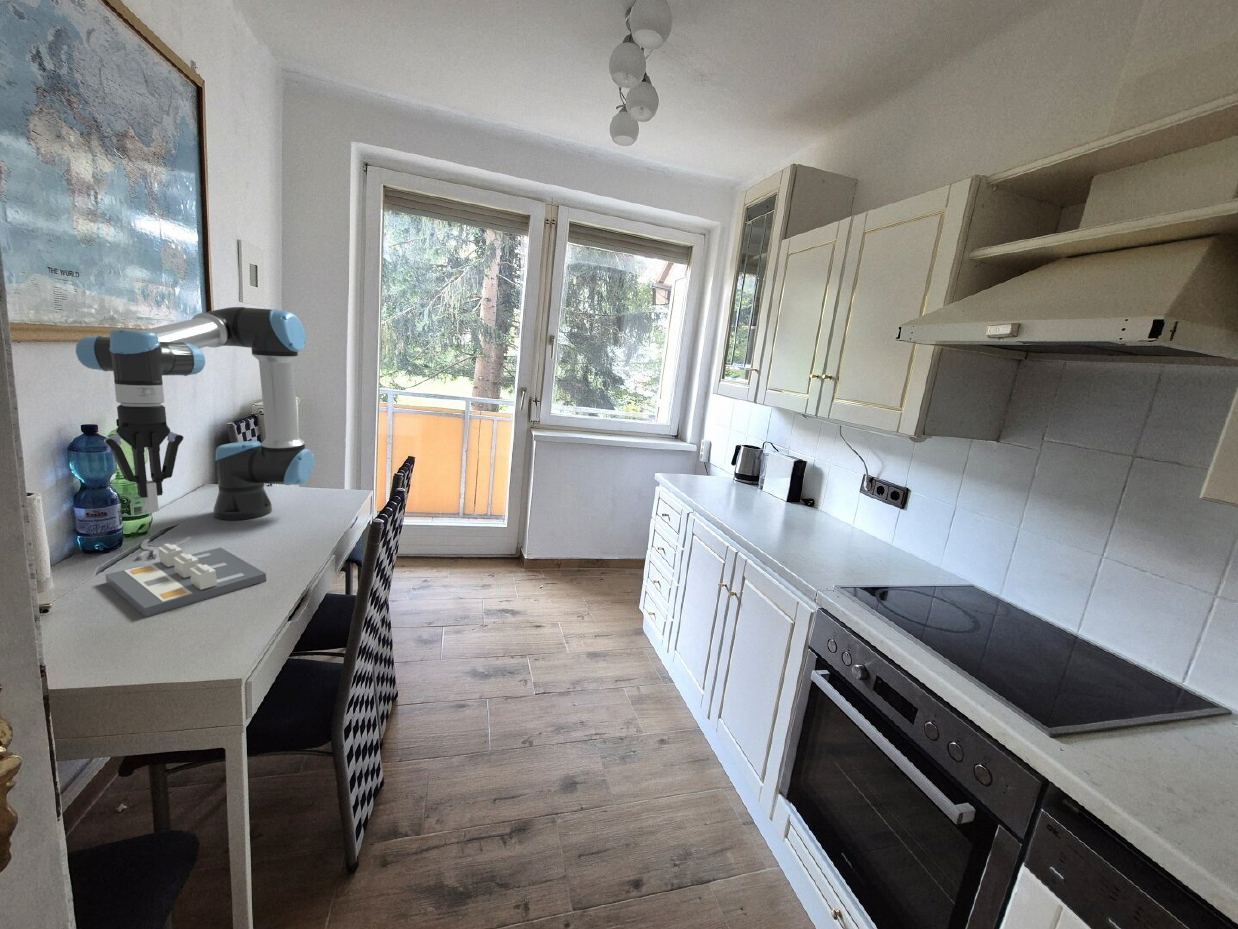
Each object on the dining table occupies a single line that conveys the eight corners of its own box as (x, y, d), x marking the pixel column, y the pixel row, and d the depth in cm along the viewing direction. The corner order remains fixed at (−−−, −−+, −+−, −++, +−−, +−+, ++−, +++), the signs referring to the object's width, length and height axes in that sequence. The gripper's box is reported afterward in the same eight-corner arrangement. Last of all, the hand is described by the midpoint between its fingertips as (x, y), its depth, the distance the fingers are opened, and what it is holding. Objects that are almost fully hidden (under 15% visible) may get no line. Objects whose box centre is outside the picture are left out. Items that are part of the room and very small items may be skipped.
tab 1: (175, 557, 124) (173, 541, 123) (183, 563, 122) (182, 547, 121) (159, 561, 122) (157, 545, 121) (167, 567, 119) (166, 550, 118)
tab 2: (191, 567, 120) (189, 551, 119) (200, 573, 117) (198, 557, 116) (175, 571, 117) (173, 555, 116) (183, 577, 115) (182, 561, 114)
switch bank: (221, 554, 133) (220, 546, 133) (266, 581, 121) (265, 572, 120) (106, 582, 115) (105, 573, 114) (145, 617, 102) (144, 607, 102)
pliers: (191, 533, 142) (172, 553, 129) (192, 538, 143) (172, 558, 129) (146, 535, 138) (121, 556, 125) (146, 541, 138) (121, 562, 125)
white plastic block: (207, 578, 115) (205, 561, 114) (217, 585, 113) (215, 568, 112) (191, 583, 113) (189, 566, 112) (200, 589, 110) (199, 572, 109)
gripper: (104, 406, 100) (117, 520, 105) (186, 405, 111) (195, 508, 116) (92, 403, 104) (106, 512, 109) (173, 402, 115) (182, 501, 119)
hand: (152, 510), depth 112 cm, fingers closed
